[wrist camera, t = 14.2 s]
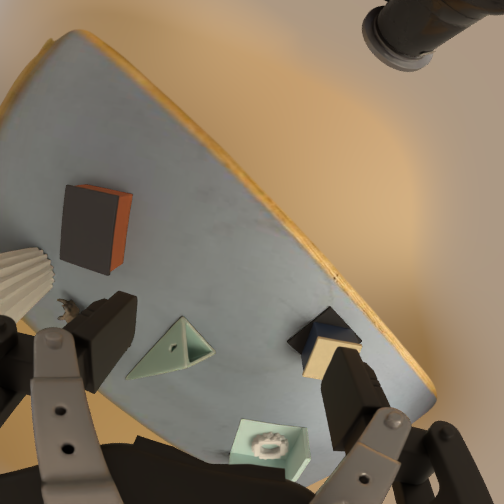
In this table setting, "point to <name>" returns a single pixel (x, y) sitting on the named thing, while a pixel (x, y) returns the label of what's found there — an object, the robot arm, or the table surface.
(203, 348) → the planter
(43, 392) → the robot arm
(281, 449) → the right angle wall
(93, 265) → the bottom container
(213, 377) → the table surface
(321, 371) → the top container
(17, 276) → the vase
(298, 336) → the mat
